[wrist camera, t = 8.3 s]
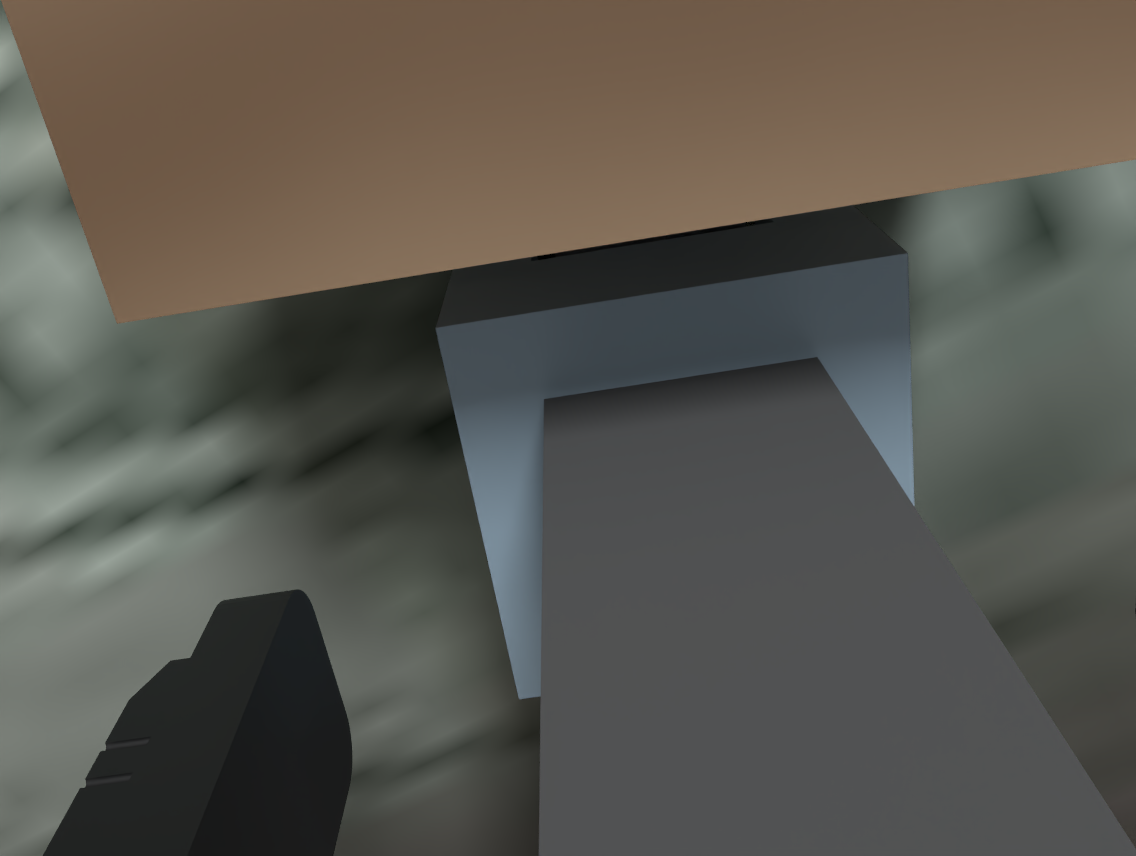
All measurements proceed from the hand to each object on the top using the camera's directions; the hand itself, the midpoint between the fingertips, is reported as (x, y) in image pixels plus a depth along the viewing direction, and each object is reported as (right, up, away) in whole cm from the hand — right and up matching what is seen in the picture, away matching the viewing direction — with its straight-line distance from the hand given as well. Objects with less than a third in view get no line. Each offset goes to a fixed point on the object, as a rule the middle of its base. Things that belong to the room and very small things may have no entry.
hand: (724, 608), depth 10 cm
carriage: (0, +3, +6) cm, 7 cm away
